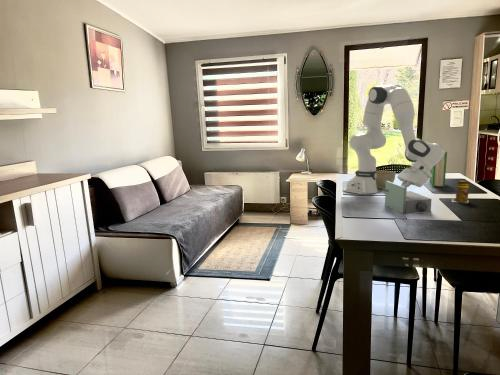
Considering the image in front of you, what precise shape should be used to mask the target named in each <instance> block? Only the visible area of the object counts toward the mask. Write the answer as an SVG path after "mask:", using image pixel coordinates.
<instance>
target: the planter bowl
mask: <svg viewBox="0 0 500 375" xmlns="http://www.w3.org/2000/svg"><path fill="white" fill-rule="evenodd" d="M376 173H377V177H376V186H377V190H378V189H379V190H385V188H386V181H390V182H392V183H395V179H396V174H397V173H396V171H392V170H391V171H390V170H376Z"/></svg>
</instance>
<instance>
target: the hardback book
mask: <svg viewBox="0 0 500 375" xmlns="http://www.w3.org/2000/svg"><path fill="white" fill-rule="evenodd" d="M443 150H444V155H443V157H442V158H441V160H440V161H439V162H438V163H437V164H436V165H435V166H433V167H432V169H431V170H430V173H431V174H432V177H431V178H429V184H430V185H431V187H432V188H435V187H442V188H445V187H446V186H445V185H446V173H447V172H446V171H447V160H448V159H447V157H448V152H447V151H446V149H444V148H443Z"/></svg>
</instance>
